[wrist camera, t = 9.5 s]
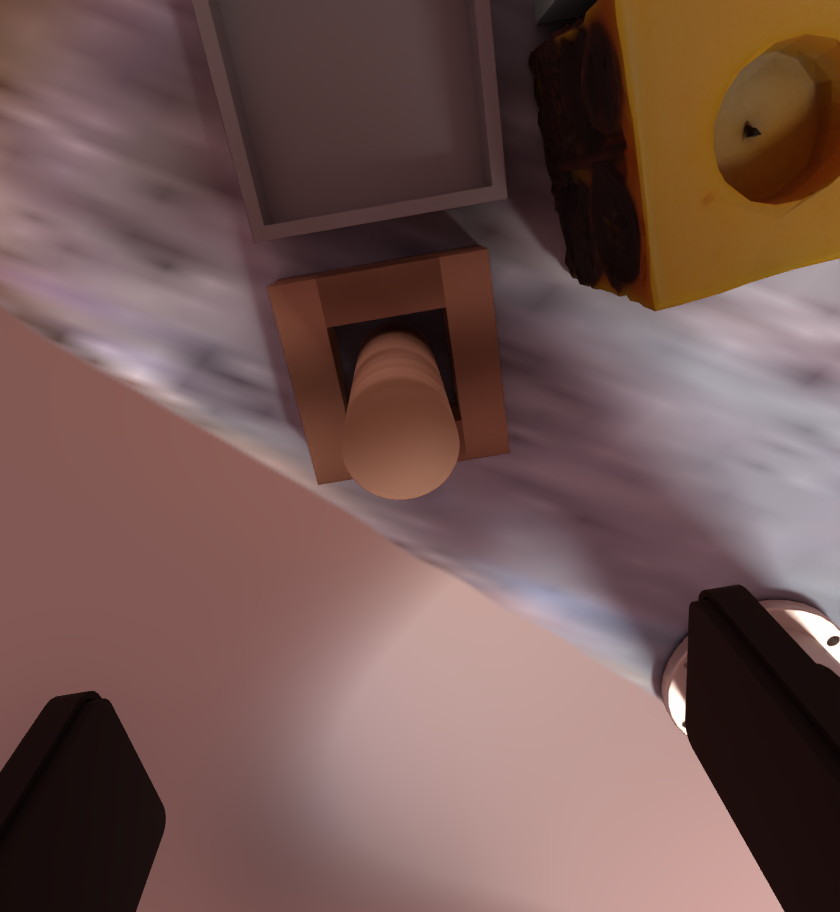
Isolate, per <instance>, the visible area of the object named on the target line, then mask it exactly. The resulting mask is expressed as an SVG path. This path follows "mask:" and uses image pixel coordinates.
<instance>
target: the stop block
mask: <svg viewBox="0 0 840 912" xmlns="http://www.w3.org/2000/svg"><path fill="white" fill-rule="evenodd" d="M596 2H597V0H534V12H535V25H536V24H542V23H547V22H553V21H559V20H564V19H570V18H575V17H581V16H585V15H586V12H587V11H588V10H589V9H590V8H591V7H592V6H593V5H594V4H595V3H596Z"/></svg>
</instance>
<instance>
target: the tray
mask: <svg viewBox="0 0 840 912" xmlns="http://www.w3.org/2000/svg"><path fill="white" fill-rule="evenodd" d="M191 1H192V5H193V8H194V12H195V16H196V20H197V24H198V28H199V32H200V35H201V39H202V43H203V47H204V51H205V55H206V59H207V62H208V66H209V70H210V74H211V78H212V82H213V86H214V89H215V93H216V97H217V101H218V105H219V109H220V113H221V116H222V120H223V124H224V128H225V132H226V136H227V140H228V143H229V147H230V151H231V155H232V159H233V163H234V167H235V170H236V174H237V178H238V182H239V186H240V190H241V194H242V197H243V201H244V205H245V209H246V213H247V217H248V221H249V224H250V228H251V232H252V236H253V240H254V243H256V242H262V241H267V240H273V239H279V238H285V237H290V236H296V235H302V234H307V233H313V232H319V231H325V230H330V229H336V228H342V227H348V226H353V225H359V224H365V223H371V222H376V221H382V220H388V219H394V218H399V217H405V216H411V215H417V214H422V213H428V212H434V211H439V210H445V209H451V208H457V207H462V206H468V205H474V204H480V203H485V202H491V201H497V200H503V199H508V198H507V187H506V176H505V164H504V153H503V142H502V131H501V120H500V109H499V98H498V87H497V76H496V64H495V53H494V42H493V31H492V20H491V9H490V0H191Z"/></svg>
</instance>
